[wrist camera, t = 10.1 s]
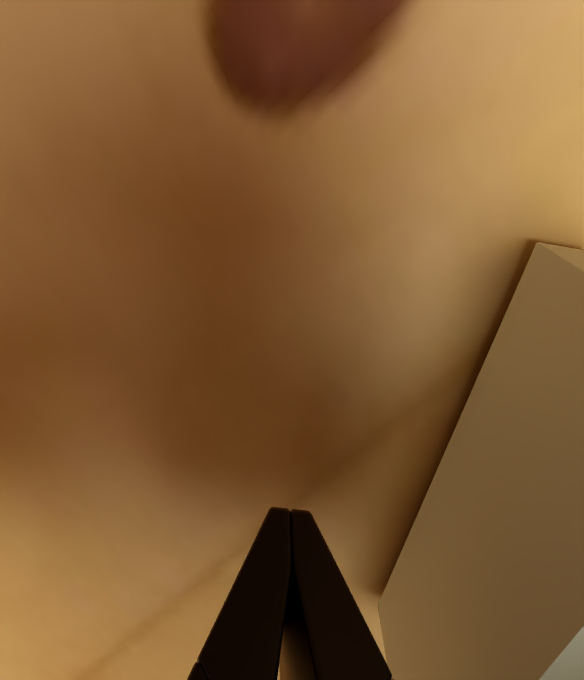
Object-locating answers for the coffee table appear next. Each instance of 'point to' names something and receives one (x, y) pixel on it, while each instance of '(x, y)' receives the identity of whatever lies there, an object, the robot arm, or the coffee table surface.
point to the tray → (505, 506)
